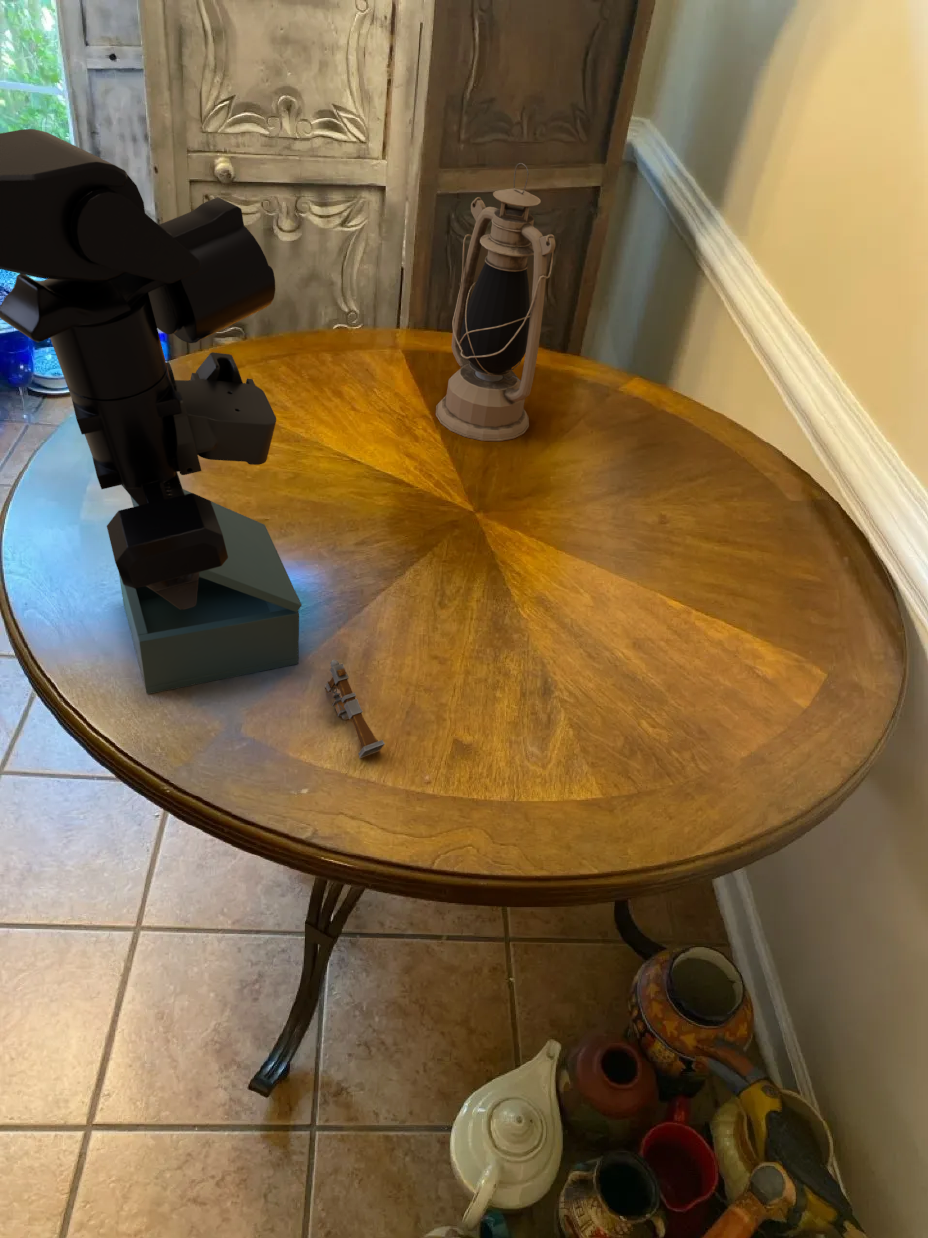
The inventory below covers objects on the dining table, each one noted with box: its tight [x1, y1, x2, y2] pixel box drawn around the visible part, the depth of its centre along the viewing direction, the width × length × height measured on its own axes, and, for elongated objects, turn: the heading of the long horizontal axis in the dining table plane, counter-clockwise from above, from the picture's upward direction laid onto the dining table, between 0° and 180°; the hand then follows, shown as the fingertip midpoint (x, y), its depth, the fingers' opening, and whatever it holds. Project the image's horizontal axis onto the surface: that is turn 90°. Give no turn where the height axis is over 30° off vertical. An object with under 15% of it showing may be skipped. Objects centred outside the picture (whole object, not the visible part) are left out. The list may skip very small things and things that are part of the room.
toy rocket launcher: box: [324, 659, 386, 759], centre depth 73 cm, size 2×8×4 cm, turn 32°
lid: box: [129, 488, 303, 612], centre depth 74 cm, size 13×12×1 cm
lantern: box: [435, 162, 556, 442], centre depth 106 cm, size 14×12×30 cm
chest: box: [118, 573, 300, 695], centre depth 78 cm, size 13×12×6 cm
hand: (174, 562), depth 65 cm, fingers open, 9 cm apart
